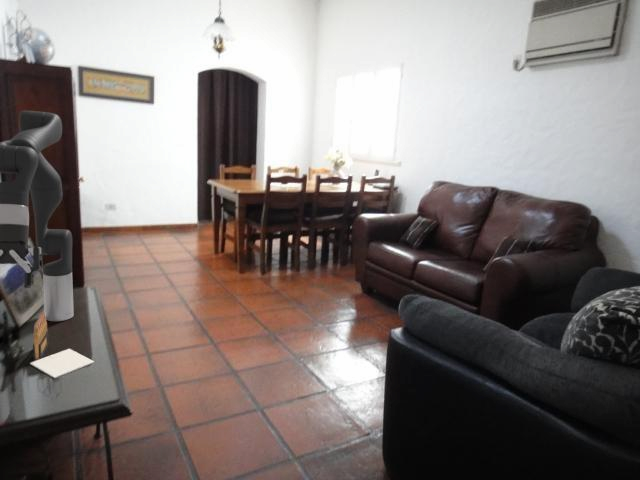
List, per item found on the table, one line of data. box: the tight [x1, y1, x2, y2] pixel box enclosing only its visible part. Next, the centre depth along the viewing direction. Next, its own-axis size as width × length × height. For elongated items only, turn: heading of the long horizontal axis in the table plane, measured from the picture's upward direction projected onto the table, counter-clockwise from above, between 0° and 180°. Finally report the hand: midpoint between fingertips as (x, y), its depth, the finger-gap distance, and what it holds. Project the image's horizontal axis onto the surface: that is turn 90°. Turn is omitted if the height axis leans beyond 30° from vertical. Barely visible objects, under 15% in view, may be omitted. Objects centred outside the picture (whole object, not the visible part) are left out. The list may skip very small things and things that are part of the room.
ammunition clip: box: [32, 310, 50, 361], centre depth 138 cm, size 11×2×12 cm, turn 19°
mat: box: [29, 348, 95, 379], centre depth 134 cm, size 13×12×1 cm
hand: (8, 288), depth 110 cm, fingers open, 8 cm apart
